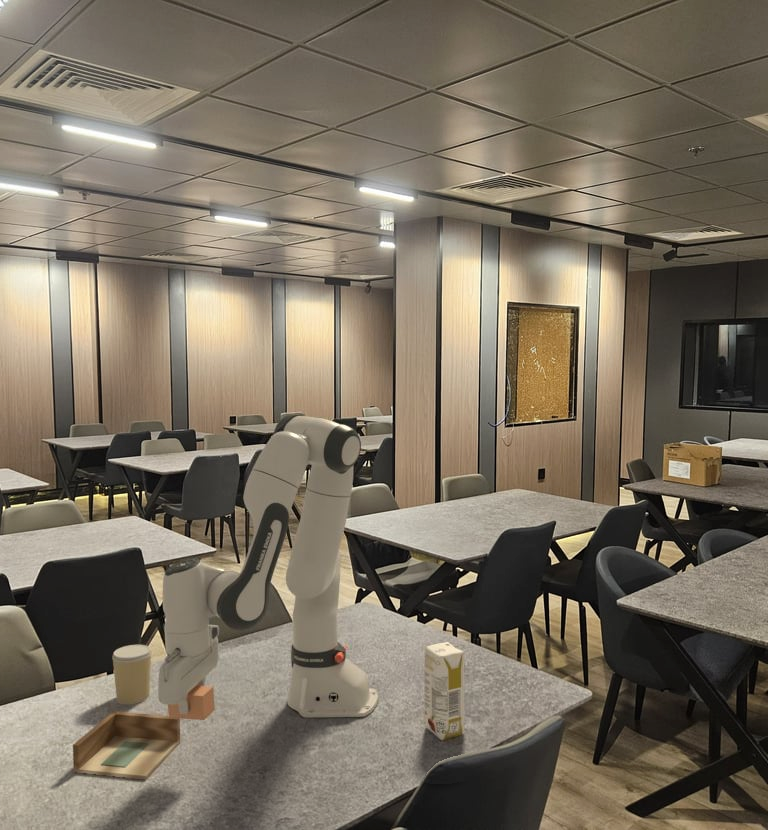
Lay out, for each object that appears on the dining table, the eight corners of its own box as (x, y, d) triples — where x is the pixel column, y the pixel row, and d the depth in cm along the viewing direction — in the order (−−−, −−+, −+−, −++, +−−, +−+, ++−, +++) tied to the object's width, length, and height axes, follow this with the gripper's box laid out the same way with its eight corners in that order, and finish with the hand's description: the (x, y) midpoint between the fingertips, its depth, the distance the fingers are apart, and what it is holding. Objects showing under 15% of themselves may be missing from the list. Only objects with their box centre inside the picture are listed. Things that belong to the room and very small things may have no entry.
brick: (214, 710, 151) (213, 686, 150) (204, 720, 146) (202, 696, 146) (180, 707, 153) (178, 684, 152) (168, 717, 148) (167, 693, 148)
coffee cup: (160, 692, 185) (159, 646, 184) (136, 708, 176) (135, 660, 176) (130, 687, 188) (128, 642, 187) (105, 703, 179) (103, 655, 179)
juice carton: (440, 743, 158) (440, 658, 157) (420, 726, 166) (420, 645, 165) (469, 735, 162) (469, 652, 161) (448, 719, 170) (448, 639, 169)
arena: (180, 742, 160) (179, 716, 159) (146, 779, 145) (145, 751, 145) (113, 736, 162) (113, 711, 162) (73, 772, 148) (72, 744, 147)
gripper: (177, 660, 138) (182, 731, 139) (222, 623, 158) (226, 685, 159) (147, 659, 139) (152, 729, 140) (195, 623, 159) (199, 684, 160)
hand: (191, 705), depth 149 cm, fingers closed on brick, 5 cm apart
